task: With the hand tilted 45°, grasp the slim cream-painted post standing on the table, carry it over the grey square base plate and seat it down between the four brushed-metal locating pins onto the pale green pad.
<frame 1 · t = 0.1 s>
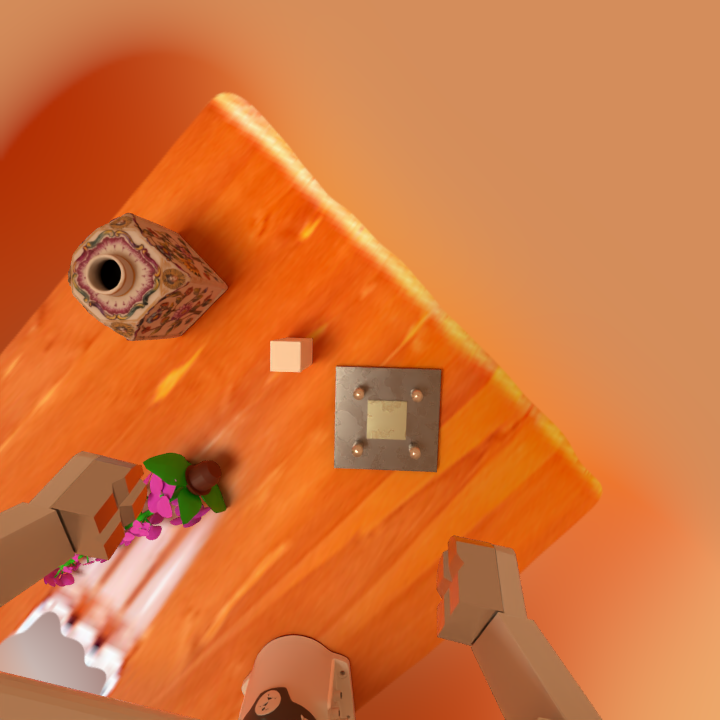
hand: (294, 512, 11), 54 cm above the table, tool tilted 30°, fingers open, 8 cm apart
post: (299, 350, 65), on the table
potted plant: (147, 516, 70), on the table
grey square base plate: (386, 418, 66), on the table
decorative jar: (180, 285, 65), on the table
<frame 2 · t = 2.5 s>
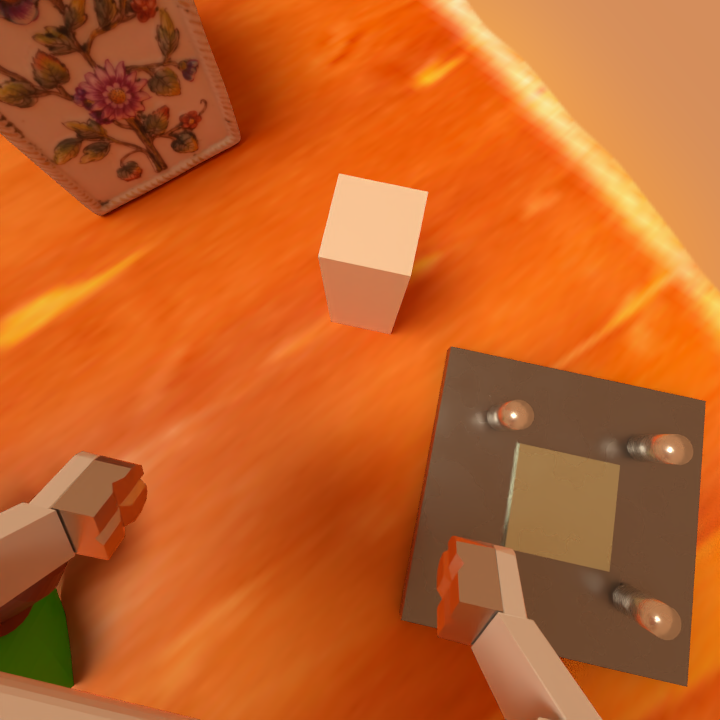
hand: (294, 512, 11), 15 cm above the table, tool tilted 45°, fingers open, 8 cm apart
post: (367, 299, 28), on the table
grey square base plate: (553, 502, 26), on the table
decorative jar: (140, 122, 30), on the table
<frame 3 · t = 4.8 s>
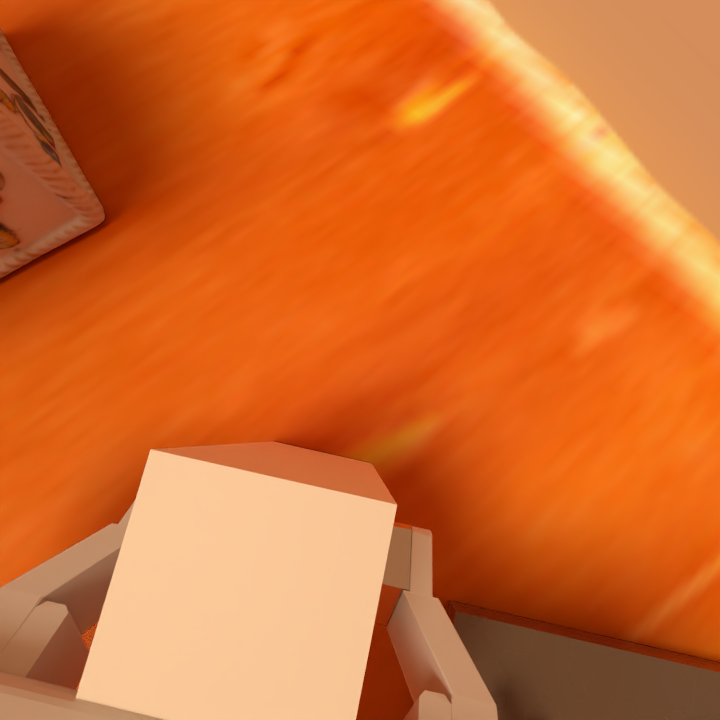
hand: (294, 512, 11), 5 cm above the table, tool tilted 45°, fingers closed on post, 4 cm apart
post: (310, 504, 16), on the table, touching gripper
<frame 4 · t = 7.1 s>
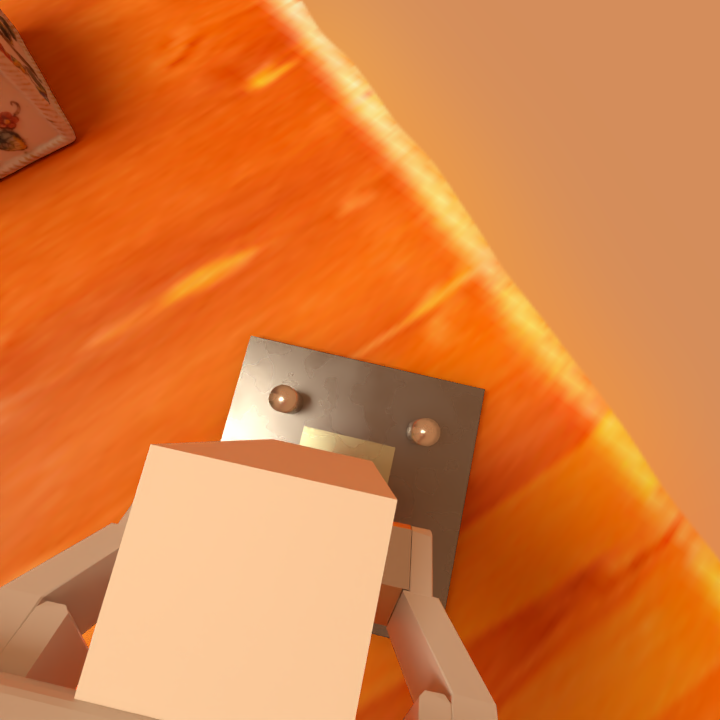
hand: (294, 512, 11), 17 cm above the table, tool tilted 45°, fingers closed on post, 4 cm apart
post: (310, 501, 16), point 12 cm above the table, touching gripper
grey square base plate: (339, 481, 28), on the table
when the fingers open (8 cm above the table, at t = 9.2 s): post drops 1 cm, resting on grey square base plate.
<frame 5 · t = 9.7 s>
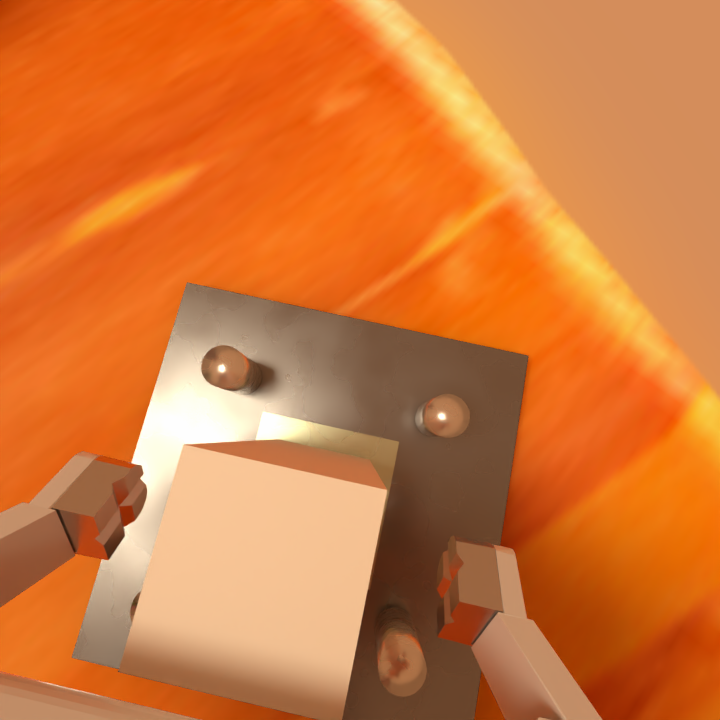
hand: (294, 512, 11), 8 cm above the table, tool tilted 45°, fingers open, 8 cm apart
post: (312, 497, 17), point 1 cm above the table, touching grey square base plate
grey square base plate: (317, 493, 19), on the table
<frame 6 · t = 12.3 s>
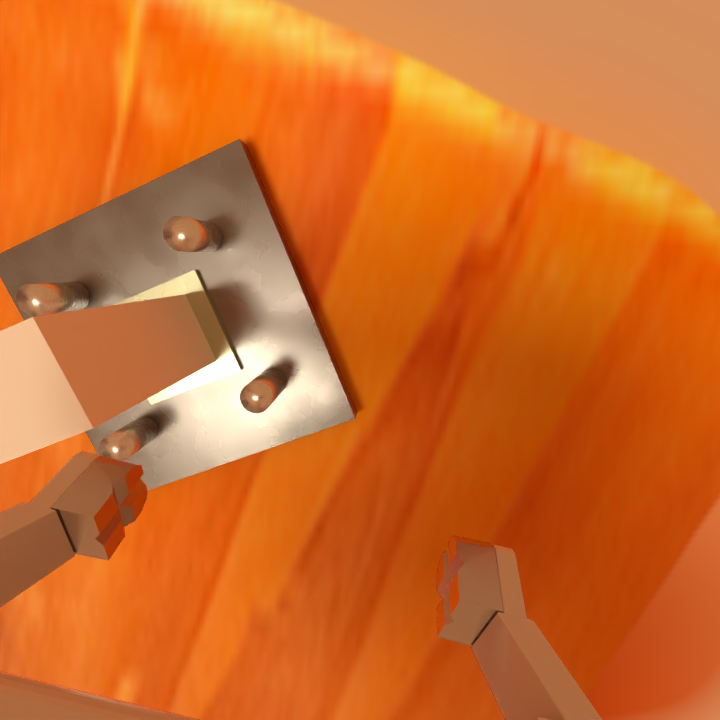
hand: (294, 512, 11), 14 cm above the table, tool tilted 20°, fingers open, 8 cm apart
post: (170, 340, 24), point 1 cm above the table, touching grey square base plate
grey square base plate: (183, 336, 25), on the table
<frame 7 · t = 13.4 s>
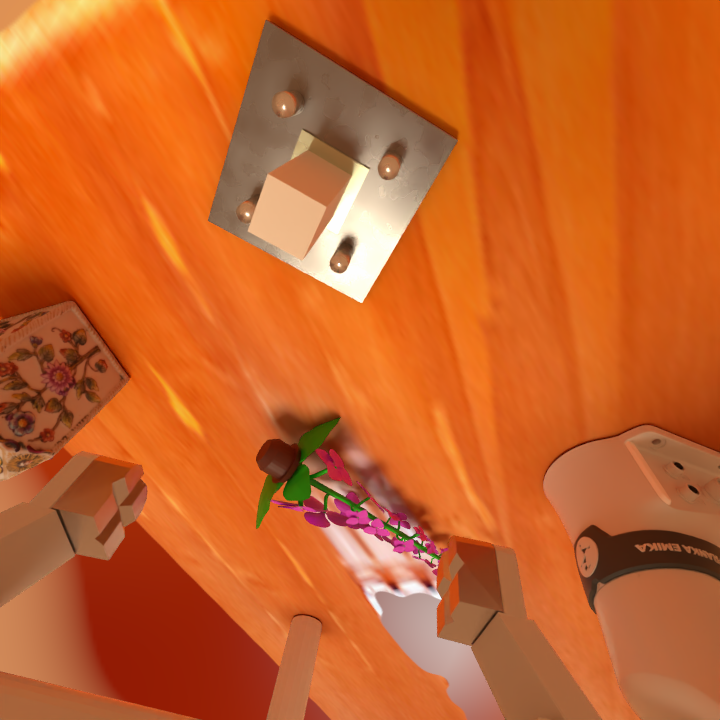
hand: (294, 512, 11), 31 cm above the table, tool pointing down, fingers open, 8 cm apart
post: (320, 186, 35), point 1 cm above the table, touching grey square base plate
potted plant: (380, 487, 58), on the table
grey square base plate: (324, 181, 36), on the table
decorative jar: (69, 347, 51), on the table
tan cylinder: (307, 622, 83), on the table
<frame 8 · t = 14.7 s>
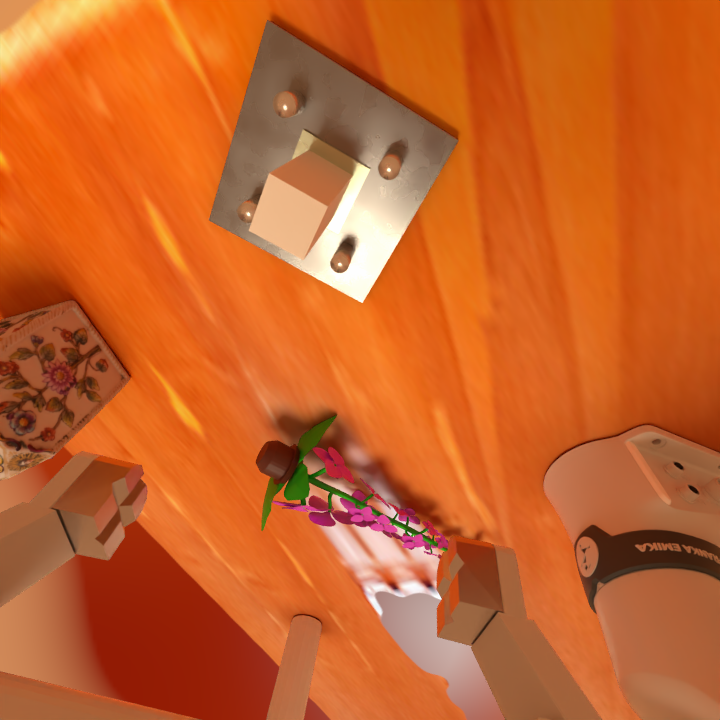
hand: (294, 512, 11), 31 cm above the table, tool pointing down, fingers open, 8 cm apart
post: (321, 185, 35), point 1 cm above the table, touching grey square base plate
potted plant: (385, 484, 57), on the table
grey square base plate: (324, 181, 36), on the table
decorative jar: (70, 347, 51), on the table
tan cylinder: (307, 622, 83), on the table
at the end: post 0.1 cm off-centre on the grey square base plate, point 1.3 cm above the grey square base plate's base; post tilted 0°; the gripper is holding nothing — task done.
